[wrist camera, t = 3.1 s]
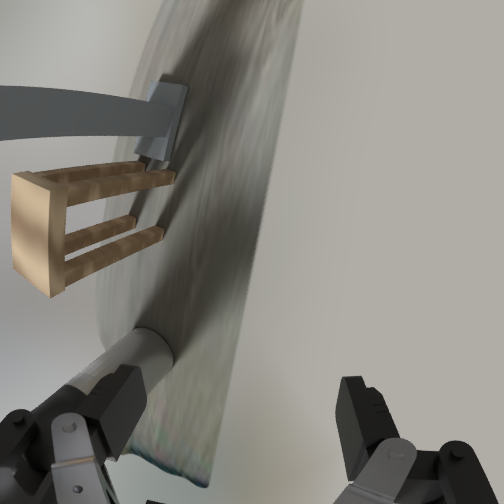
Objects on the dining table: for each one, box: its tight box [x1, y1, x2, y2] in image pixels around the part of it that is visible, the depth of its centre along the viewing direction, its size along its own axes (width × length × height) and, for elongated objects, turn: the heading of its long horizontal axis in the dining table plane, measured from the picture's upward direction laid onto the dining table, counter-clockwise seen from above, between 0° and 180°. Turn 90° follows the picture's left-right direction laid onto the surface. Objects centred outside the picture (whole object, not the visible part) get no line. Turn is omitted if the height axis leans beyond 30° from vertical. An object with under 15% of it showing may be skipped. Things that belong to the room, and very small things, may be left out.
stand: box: [0, 81, 188, 161], centre depth 22 cm, size 10×5×32 cm, turn 164°
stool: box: [11, 161, 176, 298], centre depth 32 cm, size 10×7×20 cm
